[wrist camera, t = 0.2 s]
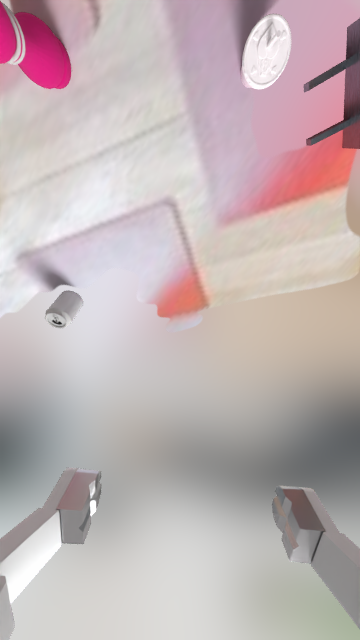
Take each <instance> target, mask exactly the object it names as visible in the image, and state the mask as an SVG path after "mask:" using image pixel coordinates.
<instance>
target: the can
mask: <svg viewBox="0 0 360 640" xmlns="http://www.w3.org/2000/svg"><path fill="white" fill-rule="evenodd" d="M82 306H83V300H82V298H81V297H80V296H79V295H78V294H77V293H75V292H72V291H64V292H62V294H61V295H60V296H59V297H58V298H57V299H56V300H55V302H54V303H53V304H52V305H51V306H50V307H49V309H48V310H47V311H46V316H45V319H46V321H47V322H48V323H49V324H50V325H52V326H53V327H56V328H64V327H66V326H69V325H70V324H71V322H72V321H73V319H74V317H75V316H76V315H77V313H78V312H79V310H80V309H81V307H82Z"/></svg>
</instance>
